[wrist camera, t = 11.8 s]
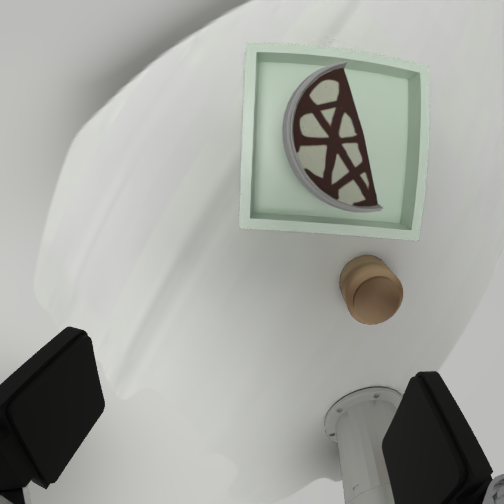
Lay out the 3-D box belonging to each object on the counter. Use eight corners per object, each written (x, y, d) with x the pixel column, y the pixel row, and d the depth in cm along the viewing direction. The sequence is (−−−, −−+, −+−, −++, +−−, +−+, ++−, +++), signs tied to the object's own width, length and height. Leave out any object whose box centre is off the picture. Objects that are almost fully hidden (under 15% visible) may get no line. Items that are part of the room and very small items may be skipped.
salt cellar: (383, 304, 36) (398, 328, 30) (336, 302, 36) (344, 327, 31) (392, 256, 34) (410, 274, 28) (342, 253, 34) (353, 271, 29)
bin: (404, 231, 33) (418, 241, 29) (243, 220, 34) (238, 228, 30) (413, 74, 28) (428, 66, 24) (250, 55, 29) (246, 42, 25)
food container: (268, 96, 30) (262, 70, 20) (326, 83, 29) (344, 55, 19) (298, 211, 33) (305, 233, 23) (355, 198, 32) (384, 215, 22)
